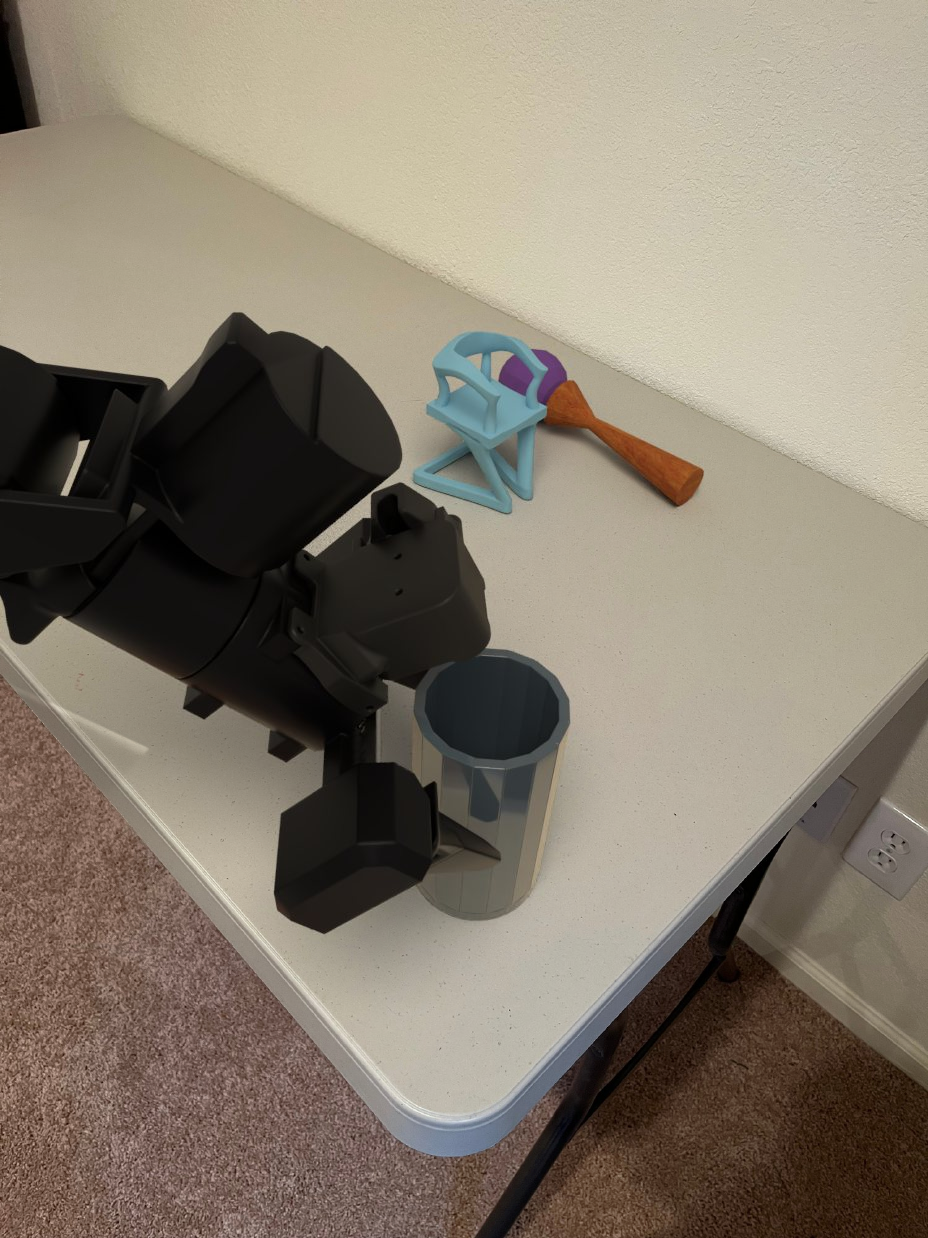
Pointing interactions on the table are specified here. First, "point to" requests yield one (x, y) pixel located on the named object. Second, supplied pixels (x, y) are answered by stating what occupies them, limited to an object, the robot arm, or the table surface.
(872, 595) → the table surface
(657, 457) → the kendama
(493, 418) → the chair
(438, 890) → the cup
